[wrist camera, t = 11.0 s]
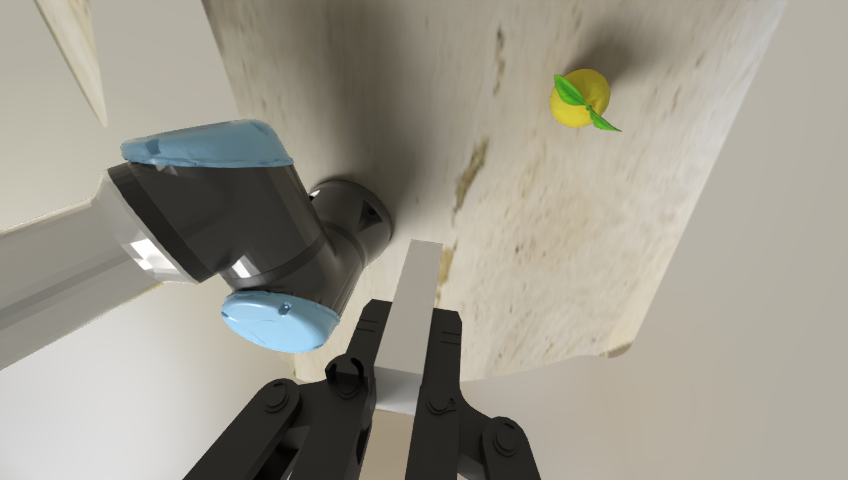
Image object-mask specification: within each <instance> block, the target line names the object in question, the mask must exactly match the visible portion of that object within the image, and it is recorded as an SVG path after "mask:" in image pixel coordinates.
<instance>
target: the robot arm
mask: <svg viewBox="0 0 848 480" xmlns="http://www.w3.org/2000/svg"><path fill="white" fill-rule="evenodd" d="M120 148H121V150H122V157H123V158H124V159H125V160H129V162H126V163H123V164H121V165H118V166H115V167H112V168H109V169H107V170H103V171H102V173H101V176H100V179H99V183H98V186H97V188H96V191H95V193H94V194H93V195H92V197H91V198H89V199H86V200H83V201H81V202H78V203H75V204H72V205H70V206H67V207H64V208H62V209H59V210H56V211H54V212H51V213H48V214H45V215H42V216H40V217H37V218H34V219H32V220H29V221H26V222H23V223H21V224H18V225H15V226H13V227H10V228H7V229H4V230H2V231H0V370H2V369H4V368H6V367H8V366H9V365H11V364H13V363H15V362H17V361H19V360H21V359H23V358H24V357H26V356H28V355H30V354H32V353H34V352H36V351H38V350H40V349H41V348H43V347H45V346H47V345H49V344H51V343H53V342H55V341H57V340H58V339H60V338H62V337H64V336H66V335H68V334H70V333H72V332H74V331H75V330H77V329H79V328H81V327H83V326H85V325H87V324H89V323H90V322H92V321H94V320H96V319H98V318H100V317H102V316H103V315H106V314H107V313H109V312H111V311H113V310H115V309H117V308H119V307H120V306H123V305H124V304H126V303H128V302H130V301H132V300H134V299H136V298H138V297H139V296H141V295H143V294H145V293H147V292H149V291H151V290H152V289H155V288H156V287H158V286H160V285H162V284H164V283H168V282H169V283H170V282H176V283H184V284H194V285H198V284H199V283H201V282H203V281H205V280H206V279H208V278H210V277H212V276H214V275H216V274H217V273H219V274H220V275H221V276H222V277H223V278H224V280H225V281H226V282H227V284H228V285H229V286H230V288H231V289H232V291H233V293H232V294H230V295H228V296H227V297H226V298H225V300H224V304H223V306H222V312H221V314H222V317H223V319H224V321H225V322H226V324H227V325H228V326H229V327H230V328H231V329H232V330H234V331H235V332H236V333H238V334H239V335H240V336H242V337H244V338H246V339H248V340H249V341H251V342H254V343H256V344H258V345H261V346H263V347H267V348H269V349H273V350H277V351H282V352H289V353H304V352H310V351H313V350H316V349H318V348H320V347H321V346H323V345H324V343H326V341H327V340H328V339H329V337H330V335H331V333H332V332H333V330H334V328H335V327H336V326H337V325H338V324H339V322H340V318H341V316H342V313H343V311H344V309H345V307H346V305H347V303H348V301H349V298H350V296H351V294H352V292H353V290H354V288H355V286H356V283H357V281H358V279H359V277H360V275H361V273H362V271H363V269H364V268H365V267H366V266H368V265H369V264H370V263H371V262H372V261H374V260H375V259H376V258H377V257H378V256H379V255H381V253H382V252H383V251H384V249H385V248H386V246H387V243H388V241H389V239H390V236H391V229H392V228H391V220H390V217H389V214H388V212H387V210H386V208H385V207H384V205H383V204H382V202H381V201H380V200H379V199H378V198H377V197H376V196H375V195H374V194H373V193H371V192H370V191H368V190H367V189H365V188H364V187H362V186H360V185H357V184H355V183H351V182H347V181H340V180H335V181H328V182H324V183H322V184H320V185H318V186H316V187H315V188H314V189H313V190H312V191H311V192H310V193H309V194H307V192H306V190H305V188H304V186H303V184H302V182H301V180H300V178H299V176H298V174H297V172H296V170H295V168H294V165H293V163H294V162H293V159H292V158H290V157H289V155H288V154H287V152H286V150H285V148H284V146H283V145H282V143H281V141H280V139H279V137H278V136H277V134H276V132H275V131H274V129H273V128H272V127H271V126H270V125H268V124H267V123H265V122H263V121H260V120H256V119H245V120H236V121H228V122H221V123H215V124H209V125H203V126H196V127H191V128H185V129H180V130H174V131H169V132H164V133H159V134H155V135H151V136H147V137H142V138H135V139H132V140H128V141H125V142H123V143H122V144H121V147H120ZM442 245H443V244H441V243H433V242H426V241H419V240H412V239H411V243H410V246H409V249H408V253H407V256H406V259H405V263H404V266H403V269H402V273H401V276H400V279H399V283H398V286H397V290H396V293H395V296H394V300H393V302H389V301H382V300H376V299H372V300H371V301H370V302H369V303H368V304H367V305H366V306H365V307H364V308H363V310H362V313H361V316H360V318H359V321H358V323H357V326H356V329H355V331H354V333H353V336H352V338H351V341H350V343H349V346H348V348H347V351H346V354H342V355H339V356H337V357H335V358H334V359H333V360H331V361H330V362H329V363H328V365H327V366H326V368H325V373H326V378H327V379H325V380H322V381H319V382H314V383H308V384H301V385H297V384H296V383H295V382H294V381H292V380H290V379H286V378H282V379H276V380H273V381H271V382H269V383H267V384H266V385H265V386H264V387H263V388H261V389H260V390H259V391H258V392H257V394H256V395H255V396H254V397H253V398H252V399H251V401H250V402H249V403H248V404H247V405H246V406H245V408H244V409H243V410H242V411H241V412H240V413H239V414H238V416H237V417H236V418H235V419H234V420H233V421H232V423H231V424H230V425H229V426H228V427H227V428H226V430H225V431H224V432H223V433H222V434H221V436H220V437H219V438H218V439H217V440H216V441H215V443H214V444H213V445H212V446H211V447H210V448H209V449H208V451H207V452H206V453H205V454H204V455H203V456H202V458H201V459H200V460H199V461H198V462H197V463H196V465H195V466H194V467H193V468H192V469H191V470H190V471H189V473H188V474H187V475H186V476H185V477H184V479H183V480H287V478H288V476H289V475H290V473H291V472H292V473H291V476H290V478H289V480H358V479H359V475H360V472H361V467H362V463H363V460H364V456H365V452H366V448H367V444H368V440H369V436H370V432H371V428H372V416H373V412H374V409H375V405H376V408H377V409H383V410H388V411H393V412H399V413H404V414H410V415H415V418H414V424H413V431H412V437H411V443H410V450H409V456H408V462H407V468H406V475H405V480H457V473H459V474H460V475H462V476H463V477H465V478H466V479H468V480H541V478H540V475H539V472H538V469H537V466H536V463H535V460H534V457H533V454H532V451H531V448H530V445H529V442H528V439H527V437H526V435H525V433H524V431H523V429H522V428H521V427H520V426H519V425H518V424H517V423H516V422H515V421H513V420H511V419H509V418H507V417H500V416H498V417H495V418H492V419H491V418H489V417H488V416H486V415H484V414H482V413H480V412H479V411H477V410H475V409H474V408H473V407H471V406H470V405H469V404H468V403H467V402H466V401H465V399H464V398H463V396H462V393H461V390H460V384H459V380H460V359H461V338H462V337H461V335H462V321H461V319H460V316H459V314H458V312H457V311H451V310H444V309H438V308H434V303H435V296H436V290H437V283H438V275H439V268H440V260H441V253H442ZM292 470H293V471H292Z"/></svg>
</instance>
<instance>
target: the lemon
mask: <svg viewBox="0 0 848 480" xmlns="http://www.w3.org/2000/svg"><path fill="white" fill-rule="evenodd" d="M554 78H555V87H554V88H553V91H552V93H551V96H550V107H551V111H552V114H553V115H554V117H555V118H556V120H557V121H559V122H560V123H562V124H563V125H565V126H569V127H574V128H575V127H584V126H586V125H589V124H591V123H593V124H594V126H595V127H597V128H600V129H604V130H613V131H620V132H622V131H621V130H618V129H616V128H615V127H613V126H612V125H610V124H609V123H608V122H607V121H606V120H604V119H603V118H602V117H601V115H602V114H603V113H604V112H605V110H606V108H607V106H608V104H609V99H610V88H609V84H608V83H607V81H606V79H605V77H604V76H603V75H601V74H600V73H598V72H597V71H595V70H590V69H580V70H575V71H573V72H571V73H568V74H567V75H565V76H564V77H563V76H561V75H554Z"/></svg>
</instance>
